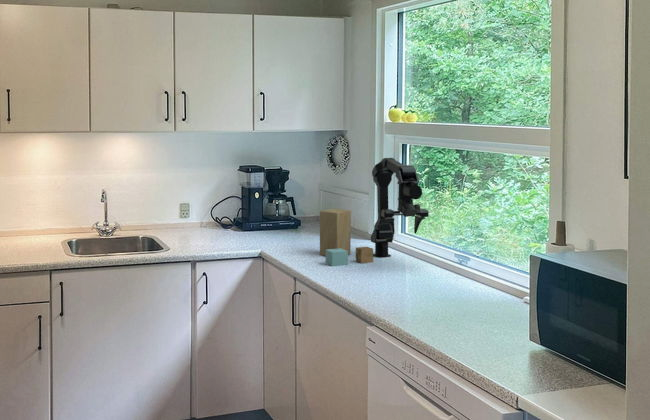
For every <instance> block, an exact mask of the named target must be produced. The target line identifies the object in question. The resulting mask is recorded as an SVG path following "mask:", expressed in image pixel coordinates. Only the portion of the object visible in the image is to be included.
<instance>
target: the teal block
mask: <svg viewBox="0 0 650 420" xmlns="http://www.w3.org/2000/svg"><path fill="white" fill-rule="evenodd" d="M348 258H349V255H348V251H346V250H343V249H341V248H340V249H328V250H326V256H325V264H326V265H327V266H331V267H339V266H340V267H342V266H348V265H349V264H348V263H349V262H348Z"/></svg>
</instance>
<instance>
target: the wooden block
mask: <svg viewBox="0 0 650 420" xmlns="http://www.w3.org/2000/svg"><path fill="white" fill-rule="evenodd" d="M351 213H352V211H351V210H349V209H339V208H330V209H323V210H322V209H321V210H320V211H319V256H322V257H324V256H325V257H326V250H328V249H340V248H341V249H343V250H346V251H348V256H350V255H351V250H352V249H351V246H352V245H351V241H352V240H351V237H352V236H351V235H352V234H351V233H352V232H351V231H352V229H351V228H352V227H351V226H352V225H351V222H352V221H351V219H352V217H351V215H352V214H351Z"/></svg>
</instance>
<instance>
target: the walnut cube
mask: <svg viewBox="0 0 650 420" xmlns="http://www.w3.org/2000/svg"><path fill="white" fill-rule="evenodd" d="M373 254H374V248H372V247H370V246H360V247H355V262H357V263H360V264H370V263H374V255H373Z"/></svg>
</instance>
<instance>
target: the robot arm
mask: <svg viewBox="0 0 650 420" xmlns="http://www.w3.org/2000/svg"><path fill="white" fill-rule="evenodd" d="M394 174H395V177H396V179H397V183H396V184H397V185H398V192H397V193H398V194H397V196H398V197H397V210H393V209H391V208H389V186H390V184H391V183H392V181H393V180H392V178H393V176H394ZM371 176H372V179H373V180H372V181H373V182H374V183H375V185H376V190H377V191H376V193H377V194H376V195H377V197H376V198H377V220H376V222H375V224H374V225H373V231H372V233H371V235H370V242H372V243H374V245H375V246H374V253H373V257H376V258H385V257H392V255H391V254H389V243H393V241H394V240H393V239H394V235H395V232H396V231H395V218H394V216H402V217H404V218H408V217H412V218H413V217H414V225H413V226H414V228H413V233H414V234H417V232H418V229H419V226H420V225H421V223H422V221H423V220H425V219H426V218H429V210H428V209H426V208H421V205H420V204H419V203H418V204H417V203H415V204H414V200H419V199H420V198H421V197H422V196H423V189H422V187H421V186H419V183H420V178H419V176H418V173H417V170H416V168H415V166H414V165H412V164H411V165H410V164H408V165H407V164H402V163H401V162H399V161H397V160H396V159H395V158H394V157H384V158H382V159H381V161H379V162H378V163H377V164H375V165H374V167H373V168H372V170H371Z"/></svg>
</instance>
